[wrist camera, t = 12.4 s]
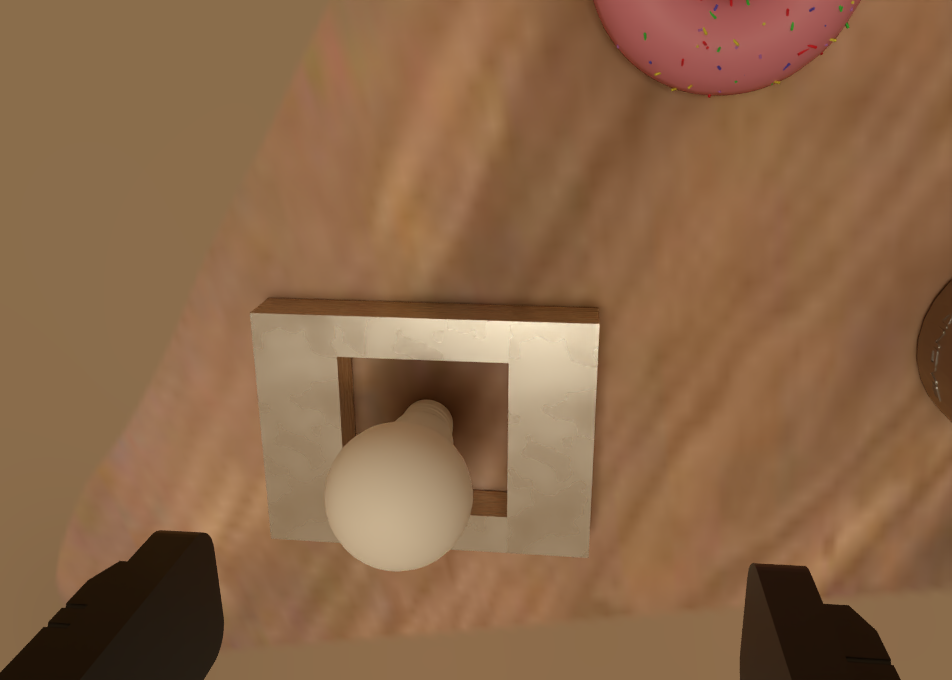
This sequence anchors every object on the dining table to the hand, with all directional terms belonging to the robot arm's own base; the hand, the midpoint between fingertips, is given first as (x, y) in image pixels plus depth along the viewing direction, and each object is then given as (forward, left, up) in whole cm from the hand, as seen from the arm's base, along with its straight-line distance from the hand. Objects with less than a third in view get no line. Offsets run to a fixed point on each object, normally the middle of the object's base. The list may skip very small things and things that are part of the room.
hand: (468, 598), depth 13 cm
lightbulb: (+5, +10, -28) cm, 30 cm away
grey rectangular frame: (+5, +10, -28) cm, 30 cm away
